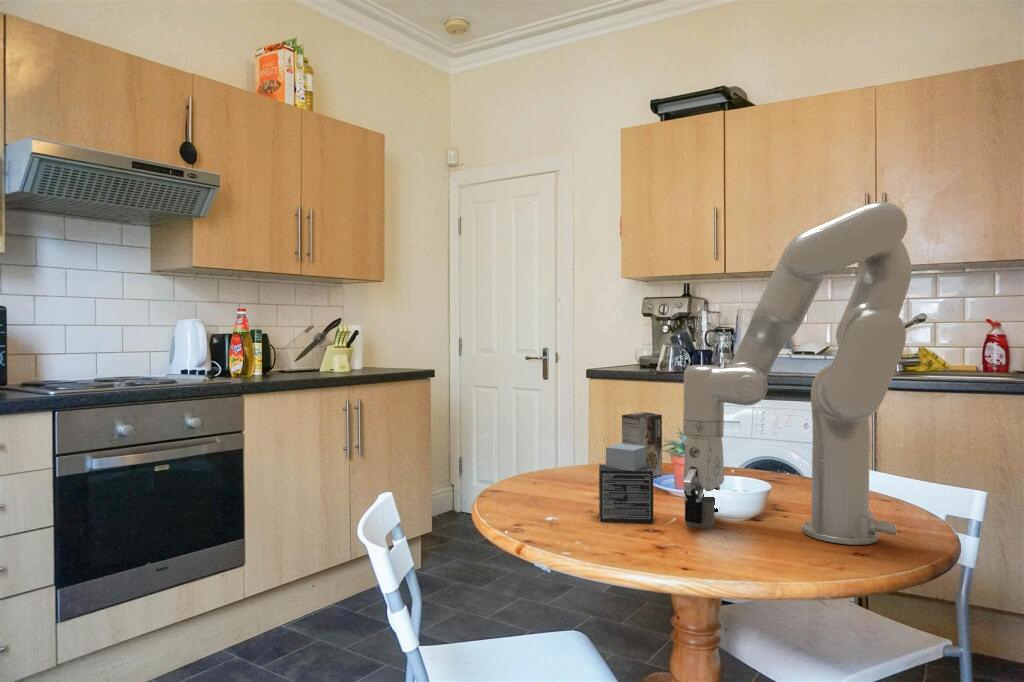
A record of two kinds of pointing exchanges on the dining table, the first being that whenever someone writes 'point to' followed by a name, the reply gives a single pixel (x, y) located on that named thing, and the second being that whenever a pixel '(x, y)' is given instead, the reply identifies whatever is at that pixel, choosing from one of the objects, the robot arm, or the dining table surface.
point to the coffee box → (645, 436)
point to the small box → (626, 495)
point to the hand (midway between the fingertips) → (702, 516)
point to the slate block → (626, 457)
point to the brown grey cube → (705, 514)
